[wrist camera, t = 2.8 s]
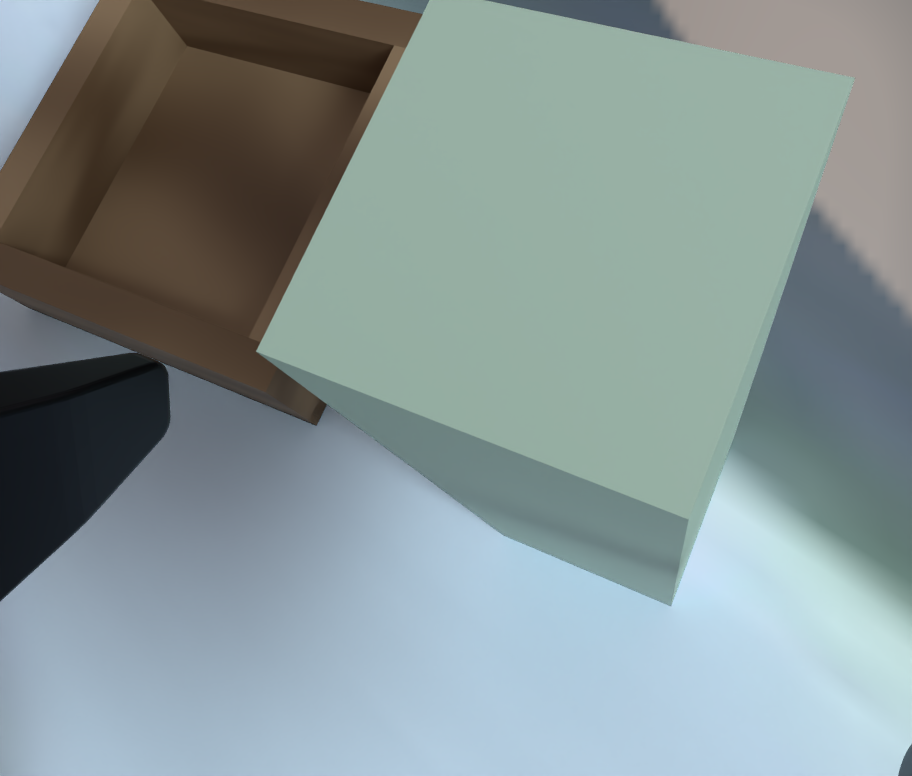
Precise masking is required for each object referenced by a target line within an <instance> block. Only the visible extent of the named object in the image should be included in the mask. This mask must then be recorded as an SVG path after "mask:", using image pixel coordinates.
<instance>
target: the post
mask: <svg viewBox="0 0 912 776" xmlns="http://www.w3.org/2000/svg"><path fill="white" fill-rule="evenodd" d="M854 79H855V78H853V77H848V76H843V75H838V74H834V73H829V72H824V71H819V70H815V69H810V68H805V67H800V66H795V65H791V64H786V63H781V62H776V61H771V60H767V59H762V58H757V57H752V56H747V55H743V54H738V53H733V52H729V51H724V50H719V49H714V48H709V47H704V46H700V45H695V44H690V43H686V42H681V41H676V40H671V39H666V38H662V37H657V36H652V35H647V34H643V33H638V32H633V31H628V30H623V29H619V28H614V27H609V26H604V25H600V24H595V23H590V22H585V21H580V20H576V19H571V18H566V17H561V16H557V15H552V14H547V13H542V12H537V11H533V10H528V9H523V8H518V7H514V6H509V5H504V4H499V3H494V2H490V1H485V0H430V1H429V3H428V5H427V7H426V9H425V11H424V13H423V15H422V17H421V19H420V21H419V23H418V25H417V27H416V29H415V31H414V33H413V35H412V37H411V39H410V41H409V43H408V45H407V47H406V49H405V51H404V53H403V55H402V57H401V59H400V61H399V63H398V65H397V67H396V70H395V72H394V74H393V76H392V78H391V80H390V82H389V84H388V86H387V88H386V90H385V92H384V94H383V96H382V98H381V100H380V102H379V104H378V106H377V108H376V110H375V112H374V114H373V116H372V118H371V120H370V122H369V124H368V126H367V128H366V130H365V132H364V134H363V136H362V138H361V140H360V142H359V144H358V146H357V148H356V150H355V152H354V155H353V157H352V159H351V161H350V163H349V165H348V167H347V169H346V171H345V173H344V175H343V177H342V179H341V181H340V183H339V185H338V187H337V189H336V191H335V193H334V195H333V197H332V199H331V201H330V203H329V205H328V207H327V209H326V211H325V213H324V215H323V217H322V219H321V221H320V223H319V225H318V227H317V229H316V231H315V233H314V235H313V237H312V239H311V242H310V244H309V246H308V248H307V250H306V252H305V254H304V256H303V258H302V260H301V262H300V264H299V266H298V268H297V270H296V272H295V274H294V276H293V278H292V280H291V282H290V284H289V286H288V288H287V290H286V292H285V294H284V296H283V298H282V300H281V302H280V304H279V306H278V308H277V310H276V312H275V314H274V316H273V318H272V320H271V322H270V324H269V326H268V329H267V331H266V333H265V335H264V337H263V339H262V341H261V343H260V345H259V347H258V349H257V351H256V352H257V353H259V354H260V355H261V356H263V357H264V358H265V359H267V360H268V361H270V362H271V363H272V364H274V365H275V366H276V367H278V368H279V369H280V370H282V371H283V372H284V373H286V374H287V375H288V376H290V377H291V378H292V379H294V380H295V381H296V382H298V383H299V384H301V385H302V386H303V387H305V388H306V389H307V390H309V391H310V392H311V393H313V394H314V395H315V396H317V397H318V398H319V399H321V400H322V401H323V402H325V403H326V404H327V405H329V406H330V407H331V408H333V409H334V410H336V411H337V412H338V413H340V414H341V415H342V416H344V417H345V418H346V419H348V420H349V421H350V422H352V423H353V424H354V425H356V426H357V427H358V428H360V429H361V430H362V431H364V432H365V433H366V434H368V435H369V436H371V437H372V438H373V439H375V440H376V441H377V442H379V443H380V444H381V445H383V446H384V447H385V448H387V449H388V450H389V451H391V452H392V453H393V454H395V455H396V456H397V457H399V458H400V459H402V460H403V461H404V462H406V463H407V464H408V465H410V466H411V467H412V468H414V469H415V470H416V471H418V472H419V473H420V474H422V475H423V476H424V477H426V478H427V479H428V480H430V481H431V482H432V483H434V484H435V485H437V486H438V487H439V488H441V489H442V490H443V491H445V492H446V493H447V494H449V495H450V496H451V497H453V498H454V499H455V500H457V501H458V502H459V503H461V504H462V505H463V506H465V507H466V508H468V509H469V510H470V511H472V512H473V513H474V514H476V515H477V516H478V517H480V518H481V519H482V520H484V521H485V522H486V523H488V524H489V525H490V526H492V527H493V528H494V529H496V530H497V531H498V532H500V533H501V534H503V535H504V536H507V537H509V538H511V539H514V540H516V541H518V542H521V543H523V544H526V545H528V546H530V547H533V548H535V549H537V550H540V551H542V552H544V553H547V554H549V555H551V556H554V557H556V558H559V559H561V560H563V561H566V562H568V563H570V564H573V565H575V566H577V567H580V568H582V569H584V570H587V571H589V572H592V573H594V574H596V575H599V576H601V577H603V578H606V579H608V580H610V581H613V582H615V583H618V584H620V585H622V586H625V587H627V588H629V589H632V590H634V591H636V592H639V593H641V594H643V595H646V596H648V597H651V598H653V599H655V600H658V601H660V602H662V603H665V604H667V605H669V606H671V604H672V602H673V599H674V596H675V594H676V591H677V588H678V586H679V583H680V580H681V578H682V575H683V572H684V570H685V567H686V564H687V562H688V559H689V556H690V553H691V551H692V548H693V545H694V543H695V540H696V537H697V535H698V532H699V529H700V527H701V524H702V521H703V519H704V516H705V513H706V511H707V508H708V505H709V503H710V500H711V497H712V495H713V492H714V489H715V486H716V484H717V481H718V478H719V476H720V473H721V470H722V468H723V465H724V462H725V460H726V457H727V454H728V452H729V449H730V446H731V444H732V441H733V438H734V435H735V432H736V429H737V426H738V423H739V420H740V417H741V415H742V412H743V409H744V406H745V403H746V400H747V397H748V394H749V391H750V388H751V385H752V382H753V379H754V376H755V373H756V370H757V367H758V364H759V361H760V358H761V355H762V352H763V349H764V346H765V343H766V340H767V337H768V334H769V332H770V329H771V326H772V323H773V320H774V317H775V314H776V311H777V308H778V305H779V302H780V299H781V296H782V293H783V290H784V287H785V284H786V281H787V278H788V275H789V272H790V269H791V266H792V263H793V260H794V257H795V254H796V251H797V248H798V246H799V243H800V240H801V237H802V234H803V231H804V228H805V225H806V222H807V219H808V216H809V213H810V210H811V207H812V204H813V201H814V198H815V195H816V192H817V189H818V186H819V183H820V180H821V177H822V174H823V171H824V168H825V165H826V162H827V159H828V156H829V153H830V151H831V148H832V145H833V142H834V139H835V136H836V133H837V130H838V127H839V124H840V121H841V118H842V115H843V112H844V109H845V106H846V103H847V100H848V97H849V94H850V91H851V88H852V85H853V82H854Z"/></svg>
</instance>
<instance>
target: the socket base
mask: <svg viewBox="0 0 912 776" xmlns="http://www.w3.org/2000/svg"><path fill="white" fill-rule="evenodd" d="M422 15H423V14H419V13H415V12H410V11H405V10H401V9H396V8H392V7H387V6H383V5H378V4H373V3H369V2H364V1H360V0H100V1H99V2H98V4H97V6H96V7H95V9H94V11H93V13H92V14H91V16H90V18H89V20H88V21H87V23H86V25H85V26H84V28H83V30H82V32H81V33H80V35H79V37H78V38H77V40H76V42H75V44H74V45H73V47H72V49H71V51H70V52H69V54H68V56H67V57H66V59H65V61H64V63H63V64H62V66H61V68H60V69H59V71H58V73H57V75H56V76H55V78H54V80H53V82H52V83H51V85H50V87H49V88H48V90H47V92H46V94H45V95H44V97H43V99H42V100H41V102H40V104H39V106H38V107H37V109H36V111H35V113H34V114H33V116H32V118H31V119H30V121H29V123H28V125H27V126H26V128H25V130H24V132H23V133H22V135H21V137H20V138H19V140H18V142H17V144H16V145H15V147H14V149H13V150H12V152H11V154H10V156H9V157H8V159H7V161H6V163H5V164H4V166H3V168H2V169H1V171H0V292H1V293H2V294H4V295H6V296H8V297H10V298H12V299H13V300H15V301H17V302H19V303H21V304H23V305H24V306H26V307H28V308H31V309H33V310H36V311H38V312H41V313H43V314H45V315H48V316H50V317H53V318H55V319H58V320H60V321H62V322H65V323H67V324H70V325H72V326H75V327H77V328H80V329H82V330H84V331H87V332H89V333H92V334H94V335H97V336H99V337H101V338H104V339H106V340H109V341H111V342H114V343H116V344H119V345H121V346H123V347H126V348H128V349H131V350H133V351H136V352H138V353H140V354H143V355H145V356H148V357H150V358H153V359H155V360H157V361H160V362H162V363H165V364H167V365H170V366H172V367H175V368H177V369H179V370H182V371H184V372H187V373H189V374H192V375H194V376H196V377H199V378H201V379H204V380H206V381H209V382H211V383H214V384H216V385H218V386H221V387H223V388H226V389H228V390H231V391H233V392H235V393H238V394H240V395H243V396H245V397H248V398H250V399H253V400H255V401H257V402H260V403H262V404H265V405H267V406H270V407H272V408H274V409H277V410H279V411H282V412H284V413H287V414H289V415H292V416H294V417H296V418H299V419H301V420H304V421H306V422H309V423H311V424H313V425H316V426H317V424H318V422H319V420H320V417H321V415H322V413H323V411H324V409H325V407H326V405H327V404H326V403H325V402H323V401H322V400H321V399H319V398H318V397H317V396H315V395H314V394H313V393H311V392H310V391H309V390H307V389H306V388H305V387H303V386H302V385H301V384H299V383H298V382H296V381H295V380H294V379H292V378H291V377H290V376H288V375H287V374H286V373H284V372H283V371H282V370H280V369H279V368H278V367H276V366H275V365H274V364H272V363H271V362H270V361H268V360H267V359H265V358H264V357H263V356H261V355H260V354H259V353H257V352H256V351H257V349H258V347H259V345H260V343H261V341H262V339H263V337H264V335H265V333H266V331H267V329H268V326H269V324H270V322H271V320H272V318H273V316H274V314H275V312H276V310H277V308H278V306H279V304H280V302H281V300H282V298H283V296H284V294H285V292H286V290H287V288H288V286H289V284H290V282H291V280H292V278H293V276H294V274H295V272H296V270H297V268H298V266H299V264H300V262H301V260H302V258H303V256H304V254H305V252H306V250H307V248H308V246H309V244H310V242H311V239H312V237H313V235H314V233H315V231H316V229H317V227H318V225H319V223H320V221H321V219H322V217H323V215H324V213H325V211H326V209H327V207H328V205H329V203H330V201H331V199H332V197H333V195H334V193H335V191H336V189H337V187H338V185H339V183H340V181H341V179H342V177H343V175H344V173H345V171H346V169H347V167H348V165H349V163H350V161H351V159H352V157H353V155H354V152H355V150H356V148H357V146H358V144H359V142H360V140H361V138H362V136H363V134H364V132H365V130H366V128H367V126H368V124H369V122H370V120H371V118H372V116H373V114H374V112H375V110H376V108H377V106H378V104H379V102H380V100H381V98H382V96H383V94H384V92H385V90H386V88H387V86H388V84H389V82H390V80H391V78H392V76H393V74H394V72H395V70H396V67H397V65H398V63H399V61H400V59H401V57H402V55H403V53H404V51H405V49H406V47H407V45H408V43H409V41H410V39H411V37H412V35H413V33H414V31H415V29H416V27H417V25H418V23H419V21H420V19H421V17H422Z"/></svg>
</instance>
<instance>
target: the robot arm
mask: <svg viewBox="0 0 912 776" xmlns="http://www.w3.org/2000/svg"><path fill="white" fill-rule="evenodd" d="M169 423H170V399H169V379H168V372H167V370H166V368H165V366H164V365H163V364H162V363H160V362H158V361H156V360H154V359H151V358H149V357H147V356H144V355H142V354H138V353H127V354H120V355H114V356H107V357H100V358H93V359H86V360H79V361H72V362H65V363H59V364H52V365H45V366H38V367H31V368H24V369H17V370H10V371H4V372H0V601H1V600H2V599H3V598H5V597H6V596H7V595H8V594H9V593H10V592H11V591H12V590H13V589H14V588H16V587H17V586H18V585H19V584H20V583H21V582H22V581H23V580H24V579H25V578H26V577H28V576H29V575H30V574H31V573H32V572H33V571H34V570H35V569H36V568H37V567H39V566H40V565H41V564H42V563H43V562H44V561H45V560H46V559H47V558H48V557H49V556H51V555H52V554H53V553H54V552H55V551H56V550H57V549H58V548H59V547H60V546H62V545H63V544H64V543H65V542H66V541H67V540H68V539H69V538H70V537H71V536H72V535H73V534H74V533H76V532H77V531H78V530H79V529H80V528H81V527H82V526H83V525H84V524H85V523H86V522H87V521H88V520H89V519H90V518H91V517H92V516H93V514H94V513H95V512H96V511H97V510H98V509H99V508H100V507H101V506H102V505H103V504H104V503H105V501H106V500H107V499H108V498H109V497H110V496H111V495H112V494H113V493H114V491H115V490H116V489H117V488H118V487H119V486H120V485H121V484H122V483H123V481H124V480H125V479H126V478H127V477H128V476H129V475H130V474H131V473H132V471H133V470H134V469H135V468H136V467H137V466H138V465H139V464H140V463H141V461H142V460H143V459H144V458H145V457H146V456H147V455H148V454H149V453H150V451H151V450H152V449H153V448H154V447H155V446H156V445H157V444H158V443H159V441H160V440H161V439H162V438H163V437H164V435H165V433H166V432H167V429H168V427H169ZM898 776H912V744H911V746H910V747H909V749H908V750H907V752H906V754H905V756H904V759H903V761H902V764H901V767H900V770H899V775H898Z"/></svg>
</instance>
